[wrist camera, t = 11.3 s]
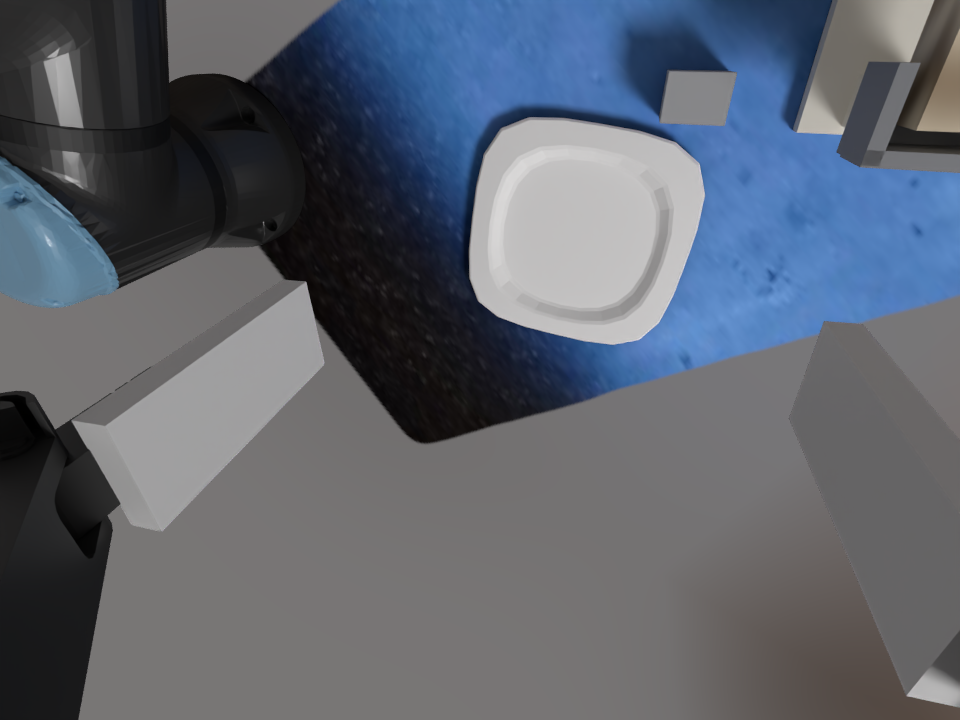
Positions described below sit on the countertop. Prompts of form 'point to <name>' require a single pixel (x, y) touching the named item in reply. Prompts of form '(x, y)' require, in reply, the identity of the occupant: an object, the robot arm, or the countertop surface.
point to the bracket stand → (873, 87)
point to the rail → (936, 73)
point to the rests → (697, 97)
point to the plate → (582, 227)
